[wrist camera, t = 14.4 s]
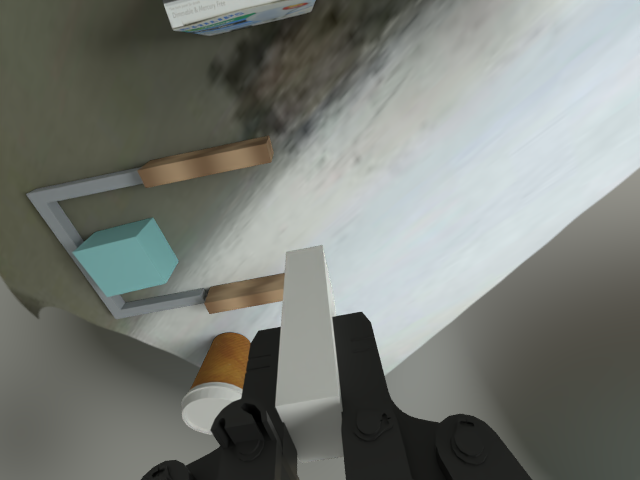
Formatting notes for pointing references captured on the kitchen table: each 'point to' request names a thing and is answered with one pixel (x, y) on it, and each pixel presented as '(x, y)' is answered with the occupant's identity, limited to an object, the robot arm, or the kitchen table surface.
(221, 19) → the light bulb box
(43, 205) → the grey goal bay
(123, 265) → the teal block
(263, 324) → the kitchen table surface
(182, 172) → the wooden guide rails
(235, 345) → the disposable coffee cup
